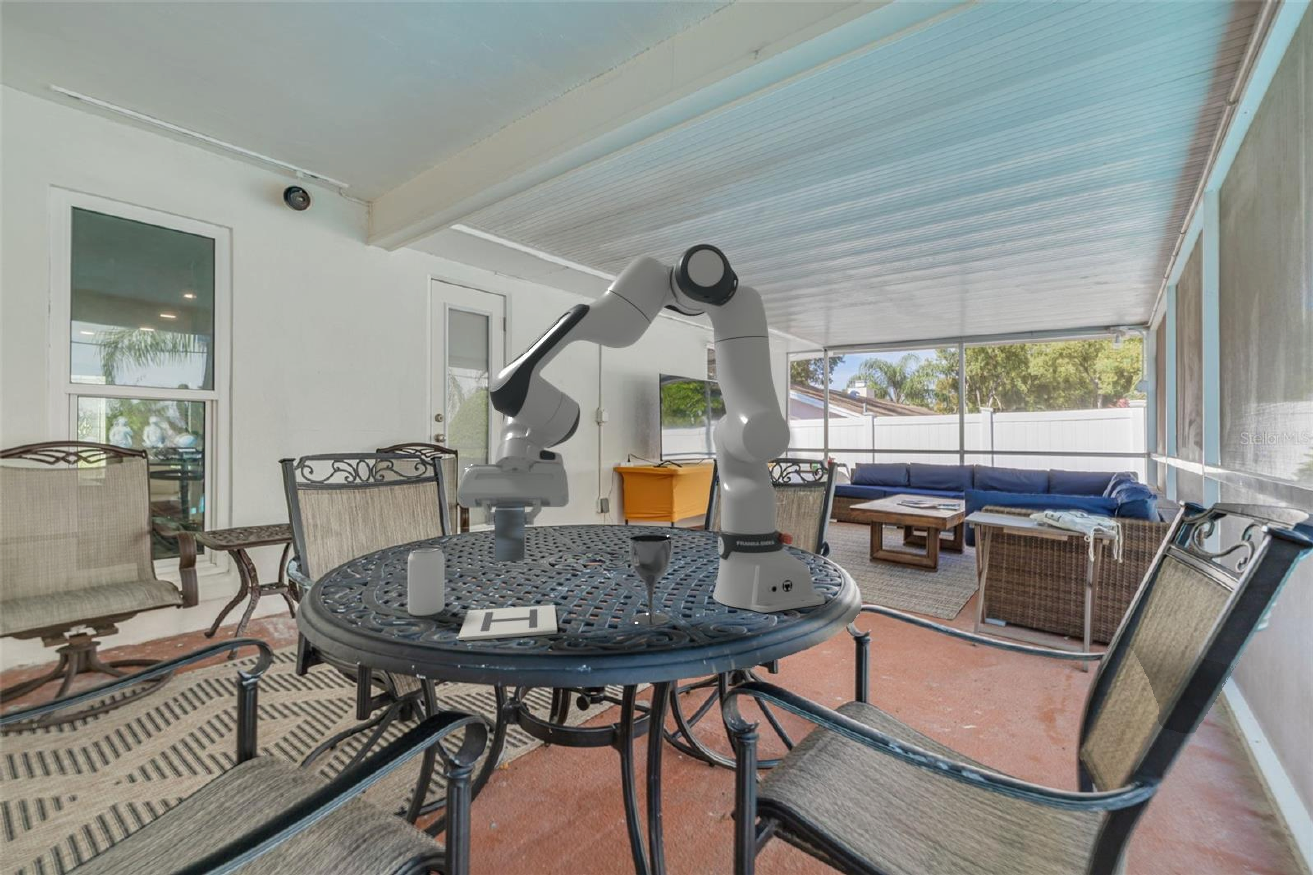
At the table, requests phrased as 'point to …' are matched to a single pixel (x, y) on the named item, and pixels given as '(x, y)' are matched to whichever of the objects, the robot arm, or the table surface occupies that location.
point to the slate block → (509, 533)
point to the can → (426, 581)
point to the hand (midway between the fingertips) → (509, 523)
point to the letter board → (509, 622)
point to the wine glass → (650, 570)
